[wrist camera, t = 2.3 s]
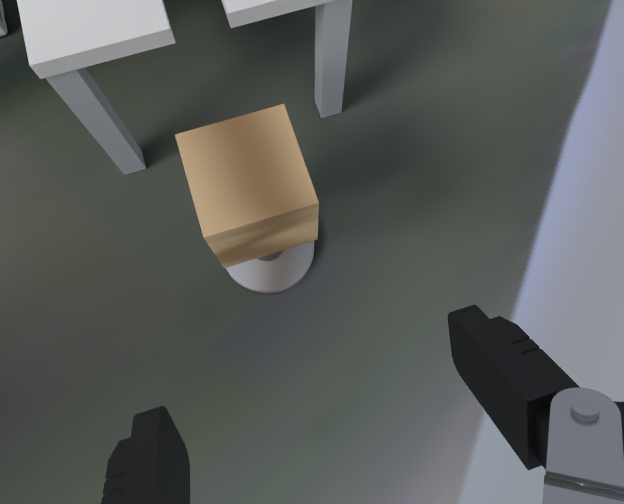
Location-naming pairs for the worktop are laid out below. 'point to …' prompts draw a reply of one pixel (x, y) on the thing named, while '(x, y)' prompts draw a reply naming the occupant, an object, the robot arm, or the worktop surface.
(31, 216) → the worktop surface
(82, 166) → the worktop surface
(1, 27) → the skincare box
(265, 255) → the tan block with stem
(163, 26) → the white slotted table
